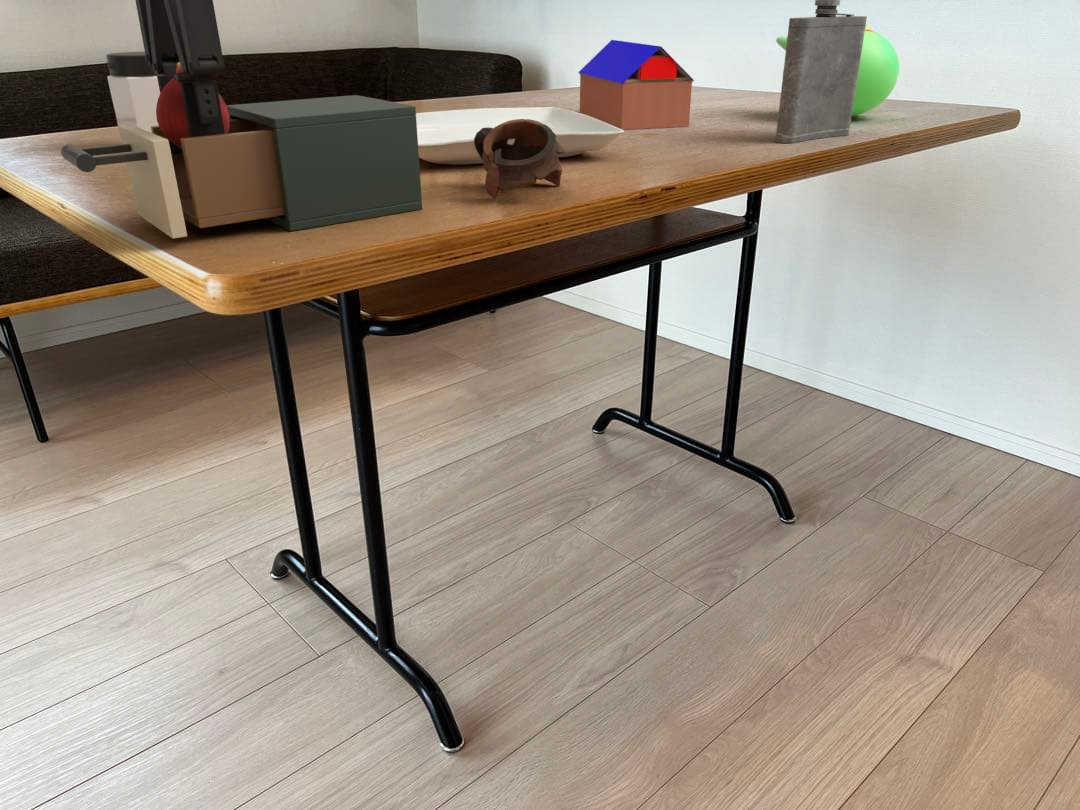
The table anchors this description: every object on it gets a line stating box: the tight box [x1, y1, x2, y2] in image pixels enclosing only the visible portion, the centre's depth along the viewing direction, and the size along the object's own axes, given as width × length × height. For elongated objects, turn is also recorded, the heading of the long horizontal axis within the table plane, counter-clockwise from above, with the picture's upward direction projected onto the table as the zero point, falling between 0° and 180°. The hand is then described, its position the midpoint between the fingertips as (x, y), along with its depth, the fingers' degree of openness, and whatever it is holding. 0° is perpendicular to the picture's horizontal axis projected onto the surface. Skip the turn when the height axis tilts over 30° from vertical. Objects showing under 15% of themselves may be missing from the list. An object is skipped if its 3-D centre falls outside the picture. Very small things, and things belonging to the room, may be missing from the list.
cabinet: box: [226, 94, 423, 232], centre depth 80 cm, size 14×12×10 cm
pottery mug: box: [474, 119, 565, 200], centre depth 88 cm, size 12×10×8 cm
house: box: [577, 39, 695, 131], centre depth 135 cm, size 12×20×12 cm, turn 17°
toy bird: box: [775, 24, 900, 117], centre depth 136 cm, size 18×17×15 cm
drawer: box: [60, 118, 285, 240], centre depth 73 cm, size 18×11×8 cm, turn 128°
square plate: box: [416, 106, 625, 166], centre depth 111 cm, size 27×27×4 cm
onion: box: [156, 62, 230, 150], centre depth 71 cm, size 6×6×8 cm
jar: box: [106, 51, 161, 133], centre depth 112 cm, size 9×8×12 cm
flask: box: [774, 0, 868, 144], centre depth 116 cm, size 4×14×18 cm, turn 124°
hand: (199, 156), depth 73 cm, fingers closed on onion, 6 cm apart
